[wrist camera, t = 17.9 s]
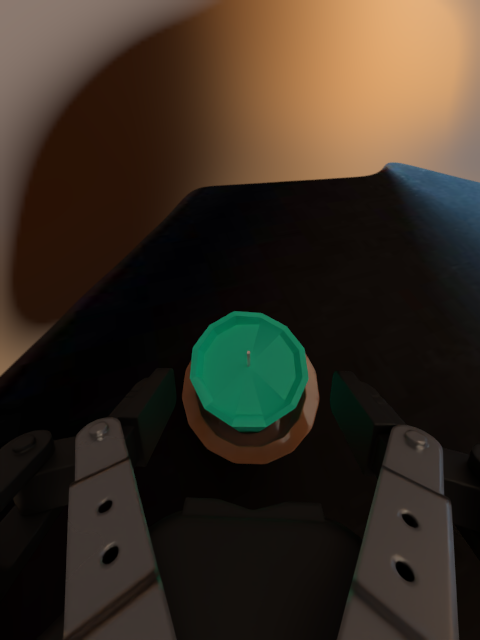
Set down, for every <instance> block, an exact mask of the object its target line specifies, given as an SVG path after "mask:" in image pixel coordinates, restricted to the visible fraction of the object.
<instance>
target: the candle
mask: <svg viewBox="0 0 480 640" xmlns="http://www.w3.org/2000/svg"><path fill="white" fill-rule="evenodd" d="M308 379H309V377H308V370H307V363H306V356H305V349H304V347H303V346H302V345H301V344H300V342H299V341H298V340H297V339H296V337H295V336H294V335H293V334H292V332H291V331H290V330H289V329H288V328H287V326H285V325H283V324H281V323H279V322H277V321H275V320H274V319H272V318H270V317H268V316H266V315H264V314H263V313H253V312H239V311H234V312H232V313H230V314H228V315H227V316H225V317H223V318H221V319H219V320H218V321H216V322H214V323H212V324H211V325H209V327H208V328H207V329H206V331H205V332H204V333H203V335H202V336H201V337H200V339H199V340H198V341H197V343H196V344H195V345H194V347H193V349H192V359H191V370H190V380H191V382H192V384H193V386H194V388H195V391H196V393H197V395H198V397H199V399H200V401H201V403H202V405H203V407H204V409H206V410H207V411H209V412H210V413H212V414H213V415H215V416H216V417H218V418H219V419H221V420H222V421H224V422H225V423H227V424H228V425H230V426H231V427H233V428H234V429H236V430H237V431H239V432H260V431H261V430H263V429H265V428H266V427H268V426H269V425H271V424H272V423H274V422H275V421H277V420H278V419H280V418H281V417H283V416H285V415H286V414H288V413H289V412H291V411H292V410H294V409H295V408H296V407H297V404H298V402H299V400H300V398H301V395H302V393H303V391H304V388H305V386H306V384H307V382H308Z"/></svg>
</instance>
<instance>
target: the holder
mask: <svg viewBox="0 0 480 640" xmlns="http://www.w3.org/2000/svg"><path fill="white" fill-rule="evenodd" d="M305 356H306V363H307V370H308V377H309V379H308V382H307V384H306V386H305V388H304V391H303V393H302V395H301V398H300V400H299V402H298V404H297V407H296V408H295V409H294V410H292V411H291V412H289V413H288V414H286V415H285V416H283V417H281V418H280V419H278V420H277V421H275V422H274V423H272V424H271V425H269V426H268V427H266V428H265V429H263V430H261V431H260V432H239V431H237V430H236V429H234V428H233V427H231V426H230V425H228V424H227V423H225V422H224V421H222V420H221V419H219V418H218V417H216V416H215V415H213V414H212V413H210V412H209V411H207V410H206V409H204V407H203V405H202V403H201V401H200V399H199V397H198V395H197V393H196V391H195V388H194V386H193V384H192V382H191V380H190V370H191V362H190V363H189V365H188V367H187V369H186V371H185V378H184V385H183V393H182V400H183V404H184V408H185V412H186V416H187V420H188V424H189V426H190V427H191V429H192V430H193V431H194V433H195V434H196V435H197V437H198V438H199V439H200V440H201V442H202V443H203V444H204V446H205V447H206V448H208V450H210V451H212V452H214V453H215V454H217V455H219V456H221V457H223V458H225V459H227V460H229V461H231V462H232V463H234V462H235V463H236V464H267V463H269V462H272V461H274V460H276V459H278V458H280V457H282V456H285V455H287V454H289V453H291V452H293V451H294V450H295V449H296V447H297V446H298V445H299V444H300V442H301V441H302V440H303V439H304V438H305V436H306V435H307V434H308V433H309V431H310V430H311V429H312V427H313V423H314V419H315V416H316V412H317V408H318V404H319V391H318V384H317V377H316V371H315V369H314V368H313V366H312V364H311V362H310V360H309V359H308V357H307V355H306V353H305Z"/></svg>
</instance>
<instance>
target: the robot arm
mask: <svg viewBox="0 0 480 640" xmlns="http://www.w3.org/2000/svg"><path fill="white" fill-rule="evenodd" d="M175 404H176V387H175V378H174V371H173V369H172V368H157V369H156V370H155V371H154V372H153V373H152V375H151V376H150V377H149V378H144V379H143V380H141V381H140V382H138V383H137V384H136V385H135V386H134V387H133V388H132V389H131V390H130V392H129V393H128V394H127V395H126V396H125V398H124V399H123V400H122V401H121V402H120V403H119V404H118V406H117V407H116V408H115V409H114V410H113V411H112V413H111V414H110V415H109V416H108V417H107V418H101V419H98V420H96V421H93V422H91V423H89V424H88V425H86V426H85V427H84V428H82V429H81V430H80V431H79V433H78V434H77V436H74V437H69V438H65V439H60V440H55V441H53V438H52V435H51V433H50V432H49V431H47V430H37V431H32V432H29V433H26V434H23V435H21V436H19V437H17V438H15V439H13V440H12V441H10V442H9V443H7V444H6V445H4V446H3V447H2V448H1V449H0V512H1V511H2V510H3V509H4V508H5V507H6V506H7V505H8V503H9V502H10V501H11V500H12V499H13V500H14V502H15V506H14V507H13V508H12V509H11V511H10V512H9V513H8V514H7V515H6V516H5V517H4V519H3V520H2V521H1V522H0V602H1V601H2V599H3V598H4V596H5V595H6V593H7V592H8V590H9V589H10V587H11V586H12V584H13V583H14V581H15V580H16V578H17V577H18V575H19V574H20V572H21V571H22V569H23V568H24V566H25V565H26V563H27V562H28V560H29V559H30V557H31V556H32V554H33V553H34V551H35V550H36V548H37V547H38V545H39V544H40V543H41V541H42V540H43V538H44V537H45V535H46V534H47V532H48V531H49V529H50V528H51V526H52V525H53V523H54V522H55V520H56V519H57V517H58V516H59V514H60V513H61V511H62V510H63V508H64V507H65V505H69V506H68V534H67V561H66V588H65V611H64V612H63V613H62V614H61V615H60V616H59V617H58V618H57V619H56V620H55V621H54V622H53V623H52V624H51V625H50V626H49V627H48V628H47V629H46V630H45V631H44V632H43V633H42V634H41V635H40V636H39V637H38V638H37V639H36V640H459V632H458V614H457V596H456V578H455V559H454V541H453V524H455V526H456V527H457V529H458V530H459V531H460V533H461V534H462V536H463V537H464V539H465V540H466V542H467V543H468V545H469V546H470V547H471V549H472V550H473V552H474V553H475V555H476V556H477V558H478V559H479V560H480V444H476V445H474V446H473V448H472V450H471V453H470V454H466V453H462V452H458V451H454V450H450V449H446V448H442V447H441V445H440V444H439V442H438V441H437V440H436V439H435V438H433V437H432V436H431V435H429V434H428V433H426V432H424V431H422V430H420V429H418V428H415V427H412V426H408V425H406V424H405V422H404V421H403V420H402V419H401V418H400V417H399V416H398V415H397V413H396V412H395V411H394V410H393V409H392V408H391V407H390V406H389V404H387V402H386V401H385V400H384V399H383V398H381V395H380V394H379V393H378V392H377V391H376V390H375V389H374V388H373V387H371V386H370V385H368V384H366V383H365V382H360V381H359V379H358V378H357V377H356V376H355V375H354V373H353V372H351V371H335V372H334V374H333V380H332V388H331V395H330V406H331V410H332V413H333V415H334V417H335V419H336V421H337V423H338V425H339V427H340V429H341V430H342V432H343V434H344V436H345V438H346V440H347V442H348V444H349V446H350V448H351V450H352V452H353V454H354V456H355V458H356V460H357V462H358V464H359V466H360V468H361V470H362V472H363V474H364V476H376V477H377V478H378V482H377V486H376V490H375V494H374V498H373V502H372V506H371V510H370V514H369V517H368V521H367V525H366V529H365V533H364V537H363V540H362V539H361V538H360V537H359V536H358V535H356V534H355V533H354V532H352V531H351V530H349V529H348V528H347V527H345V526H343V525H342V524H340V523H338V522H336V521H334V520H332V519H330V518H327V517H324V513H323V510H322V506H321V503H306V502H284V503H280V504H276V505H272V506H268V507H264V508H260V509H256V510H250V509H247V508H244V507H241V506H238V505H235V504H232V503H229V502H226V501H223V500H220V499H212V498H188V497H186V499H185V503H184V507H183V510H182V511H178V512H175V513H173V514H170V515H168V516H166V517H164V518H162V519H161V520H159V521H158V522H156V523H155V524H153V525H152V526H151V527H149V528H148V527H147V523H146V519H145V515H144V511H143V507H142V503H141V499H140V496H139V492H138V488H137V484H136V480H135V476H134V472H133V469H134V467H135V466H141V467H146V465H147V463H148V461H149V459H150V457H151V455H152V453H153V451H154V449H155V447H156V445H157V443H158V440H159V438H160V436H161V434H162V432H163V430H164V428H165V426H166V424H167V422H168V420H169V418H170V416H171V414H172V412H173V410H174V407H175Z"/></svg>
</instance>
